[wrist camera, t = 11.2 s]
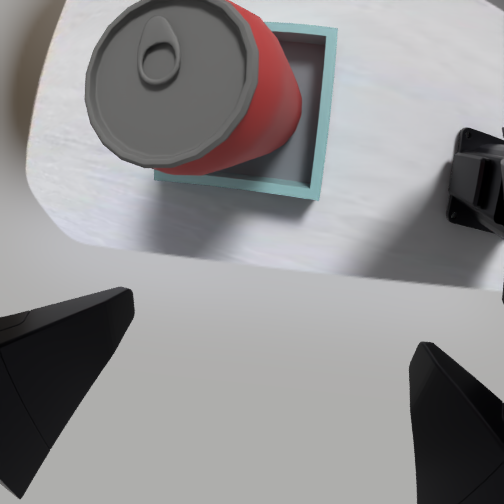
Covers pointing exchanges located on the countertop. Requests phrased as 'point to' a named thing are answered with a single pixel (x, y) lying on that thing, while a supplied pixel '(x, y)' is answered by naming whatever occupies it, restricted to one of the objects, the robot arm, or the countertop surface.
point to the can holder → (307, 132)
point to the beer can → (190, 87)
